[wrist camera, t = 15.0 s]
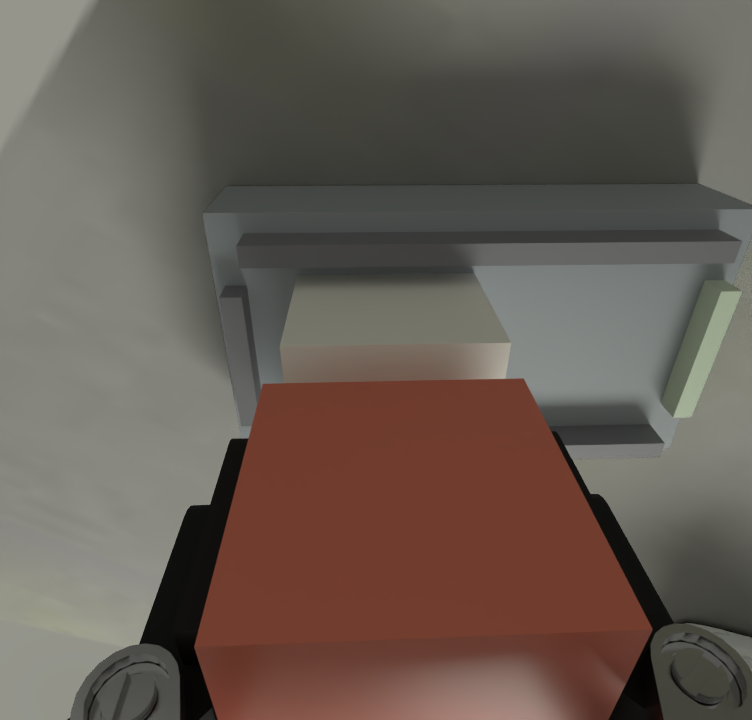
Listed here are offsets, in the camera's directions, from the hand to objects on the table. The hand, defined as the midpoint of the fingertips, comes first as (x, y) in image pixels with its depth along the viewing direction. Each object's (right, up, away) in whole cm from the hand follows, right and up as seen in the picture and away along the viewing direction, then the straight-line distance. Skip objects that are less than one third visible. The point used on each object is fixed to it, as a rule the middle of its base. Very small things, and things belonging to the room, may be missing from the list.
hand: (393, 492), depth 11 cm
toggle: (0, +3, +5) cm, 6 cm away
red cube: (0, 0, 0) cm, 1 cm away
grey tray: (+3, +5, +8) cm, 9 cm away
